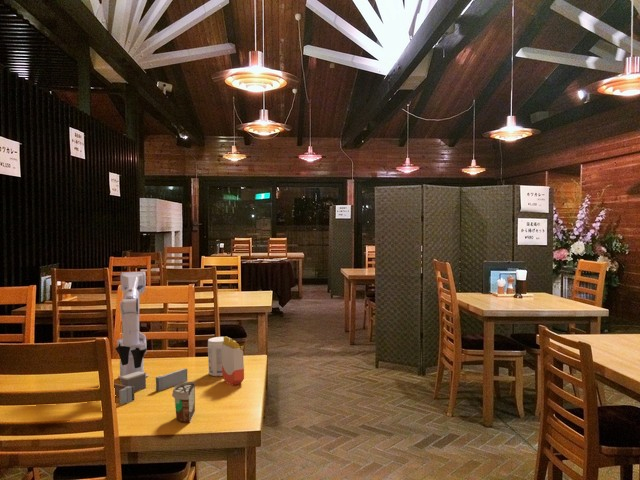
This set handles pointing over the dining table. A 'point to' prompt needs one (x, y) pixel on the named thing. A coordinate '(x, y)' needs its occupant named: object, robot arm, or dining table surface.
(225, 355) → the french fries container
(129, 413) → the dining table surface
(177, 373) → the wall
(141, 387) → the block
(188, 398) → the food container
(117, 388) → the door
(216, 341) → the supplement tub
